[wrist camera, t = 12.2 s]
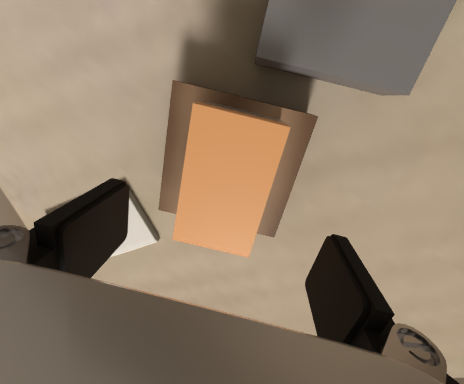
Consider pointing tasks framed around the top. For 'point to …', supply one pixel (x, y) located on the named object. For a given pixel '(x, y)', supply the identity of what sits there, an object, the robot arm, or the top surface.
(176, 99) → the stand
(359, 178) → the top surface
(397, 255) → the top surface
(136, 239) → the external hard drive
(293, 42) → the stand
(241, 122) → the cover
